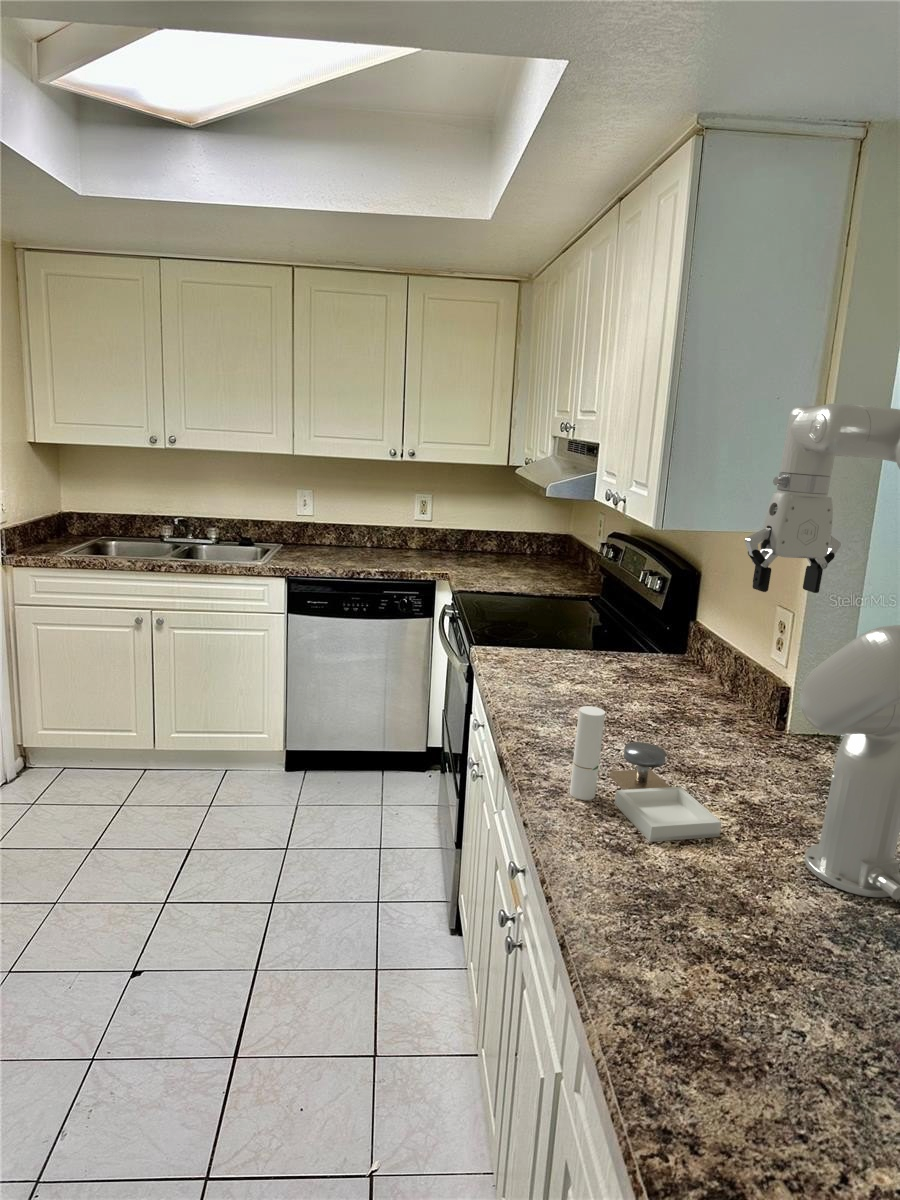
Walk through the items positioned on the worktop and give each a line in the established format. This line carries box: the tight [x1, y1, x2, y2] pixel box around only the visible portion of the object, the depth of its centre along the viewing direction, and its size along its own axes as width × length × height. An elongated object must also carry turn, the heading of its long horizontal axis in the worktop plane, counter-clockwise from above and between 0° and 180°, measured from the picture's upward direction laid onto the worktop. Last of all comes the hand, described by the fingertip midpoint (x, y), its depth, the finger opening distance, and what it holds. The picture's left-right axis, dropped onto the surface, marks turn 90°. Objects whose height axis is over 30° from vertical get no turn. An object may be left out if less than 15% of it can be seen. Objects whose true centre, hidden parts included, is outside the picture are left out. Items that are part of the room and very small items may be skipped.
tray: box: [613, 786, 722, 843], centre depth 124 cm, size 12×12×2 cm
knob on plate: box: [609, 741, 671, 790], centre depth 135 cm, size 8×8×7 cm
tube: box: [569, 705, 606, 801], centre depth 129 cm, size 4×4×15 cm
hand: (785, 590), depth 127 cm, fingers open, 9 cm apart
